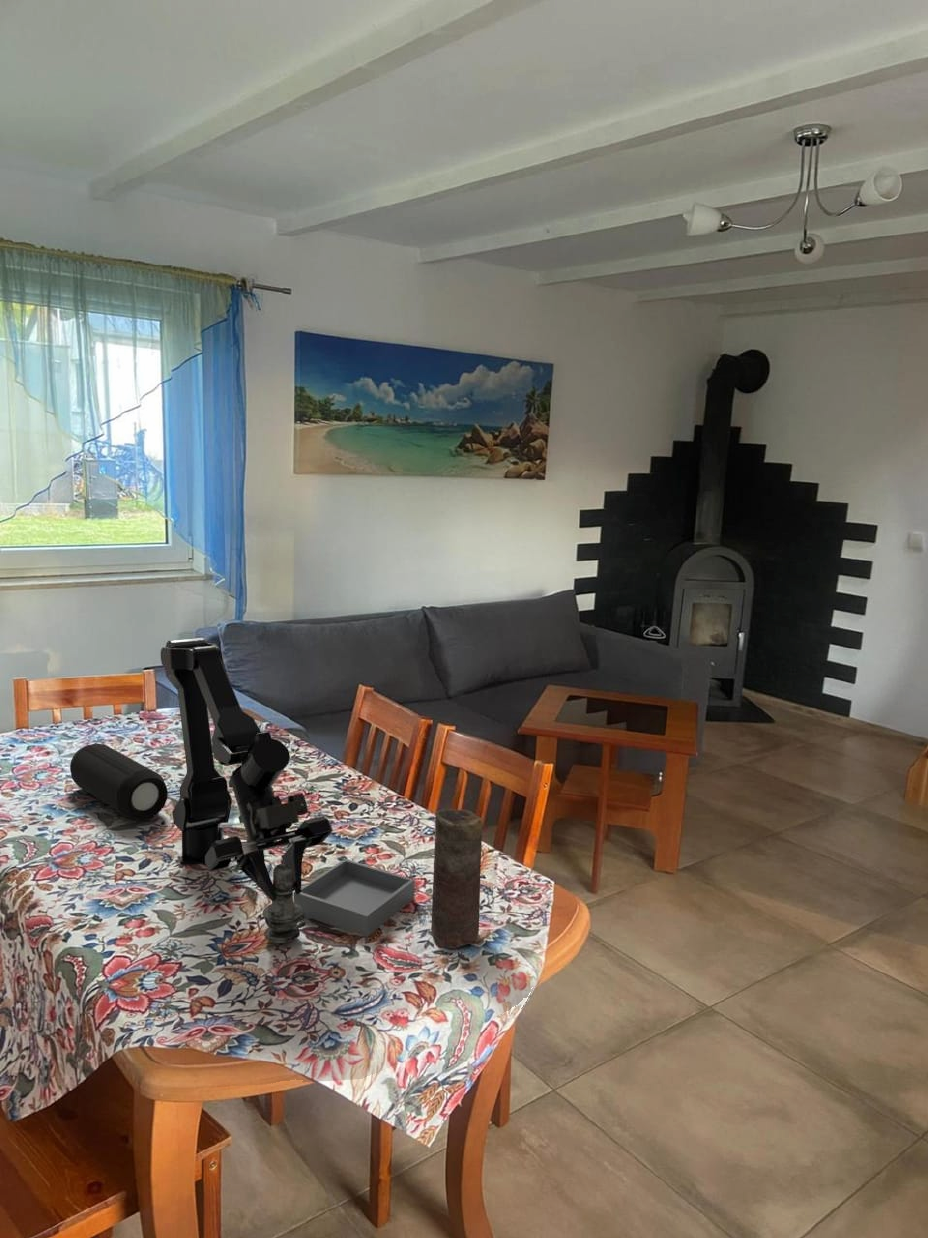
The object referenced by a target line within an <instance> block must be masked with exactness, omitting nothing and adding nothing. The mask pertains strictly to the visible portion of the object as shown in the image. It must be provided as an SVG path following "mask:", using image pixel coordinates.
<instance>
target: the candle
mask: <svg viewBox="0 0 928 1238" xmlns="http://www.w3.org/2000/svg"><path fill="white" fill-rule="evenodd" d="M434 825H435V826H434V853H433V855H434V856H433V875H432V877H433V879H432V880H433V882H432V902H431V925H430V926H431V928H430V929H431V931H430V933H431V936H432V939H433V941H434V942H433V943H435V945H437V946H439V947H441V948H450V949H458V948H460V947H462V946H466V945H469V944H473V943H474V942H475V941H476V940H477V938H478V936H479V932H480V931H479V930H480V913H481V912H480V909H481V908H480V905H481V904H480V903H481V901H480V900H481V899H480V898H481V870H482V869H481V867H482V840H483V819H482V818H481V817H480V816H477V815H476V814H475V813H474V812H472V811H470V810H468V809H458V808H456V809H455V808H442V809H439V810H438V811H437V812H436V813H435V823H434Z"/></svg>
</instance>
